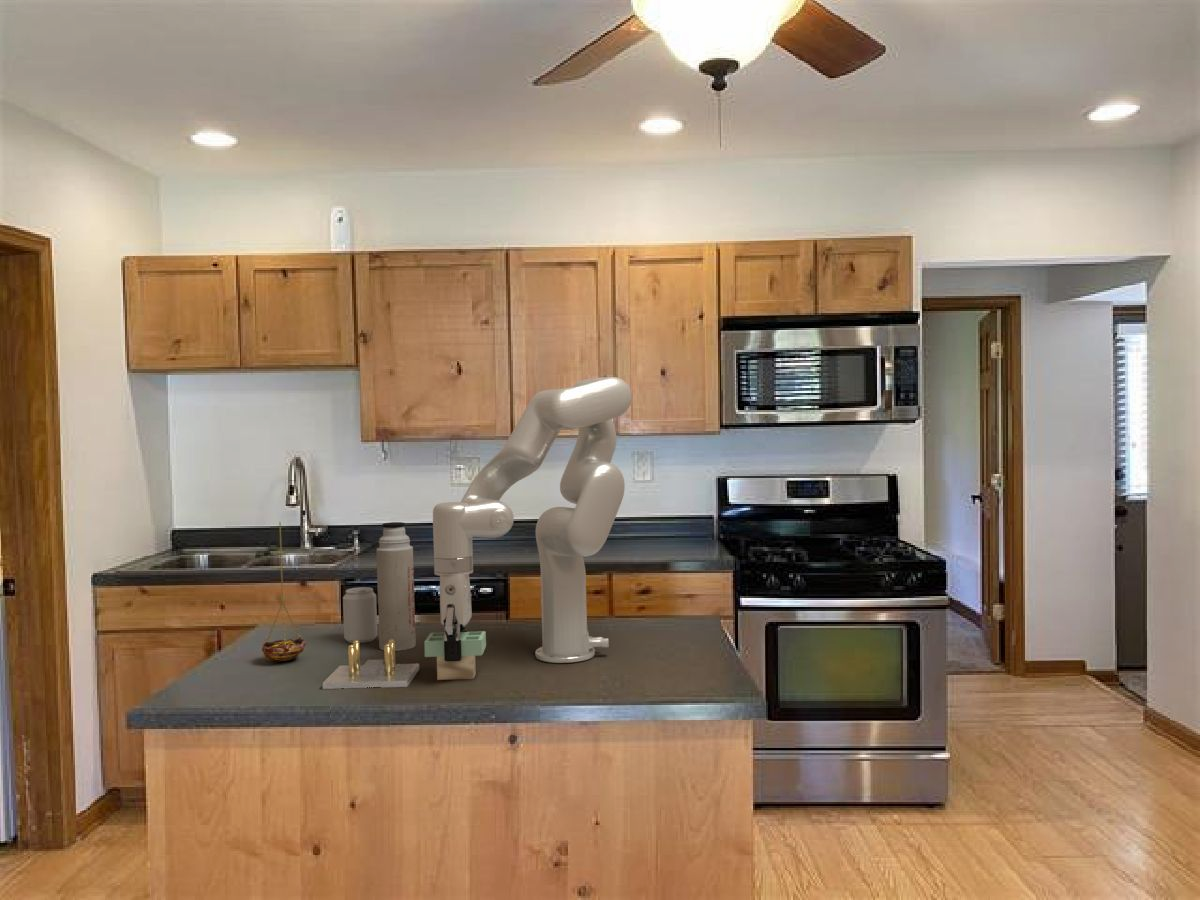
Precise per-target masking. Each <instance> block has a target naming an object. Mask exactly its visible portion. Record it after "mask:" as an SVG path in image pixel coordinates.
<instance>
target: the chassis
mask: <svg viewBox="0 0 1200 900" xmlns="http://www.w3.org/2000/svg"><path fill="white" fill-rule="evenodd" d="M383 651H384V653H383V654H384V659H367V660H366V662H364V664H363V665H362V664H361V659H360V658H361V657H360V656H361V655H360V643H359V641H358V640H355V641H354V642H353V643H352V644H350V645H348V647H347V652H348V654H347V655H348V657H347V658H348V665H346V664H345V665H339V666H338V667H337V668H336V669H335V670H334V671H332V673H330V675H329V676H328V677H326V679H325V680H324V681H323V682H322V689H323V690H332V689H333V690H338V689H341V688H344V689H370V688H371V687H372V688H371V689H373V687H381V688H407V687H409V685H410V684H411V682H412V681H413V679H414V678H415V676H416V675H417V673H418V672H419V670H420V663H396V651H395V641H394V640H393V639H390V640H389V642H388V644H386V645H385V646H384V650H383ZM367 687H368V688H367ZM369 687H370V688H369Z"/></svg>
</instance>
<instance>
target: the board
mask: <svg viewBox="0 0 1200 900" xmlns="http://www.w3.org/2000/svg"><path fill="white" fill-rule="evenodd" d="M428 634H429V635H427V638H425V640H424V642H423V643H424V645H423V646H424V658H433V657H436V658H437V657H440V656H444V635H445V631H444V632H430V633H428ZM486 634H487V632H486V631H485V630H483V631H482V630H481V631H467V632H460V637H459V640H461V656H475V657H477V656H483V654H484V652H485V649H486V647H487V635H486Z"/></svg>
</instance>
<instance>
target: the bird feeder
mask: <svg viewBox="0 0 1200 900" xmlns="http://www.w3.org/2000/svg"><path fill="white" fill-rule="evenodd" d="M278 524H279V525H278V527H279V552H280V554H279V555H280V561H279V562H280V582H281V584H280V585H281V589H280V590H281V604H280V605H279V608H278V611H277V613H276V616H275V619H274V621H273V624H272V627H271V630H270V632H269V634H268V637H267V638H265V640H264V642H263V643H262V644H261V651H262V653H263V656H264V658H265V659H267V660H268V661H271V662H275V663H281V662H286V661H287V662H288V661H289V660H292V659H294V658H296V657H298V656H299V655H300V654H302V653H303V651H304V649H305V648H306V646H307V644H306V641H305V640H304V639H303V638H302V635H300V634H299V633H298V631H297V629H296V627H295V625H294V622H293V621H292V617H291V616H290V613H289V612H288V610H287V608H286V605H285V602H284V585H283V584H284V580H283V577H284V576H283V556H282V555H283V553H282V551H283V550H282V549H283V548H282V524H281V521H279V523H278ZM281 610H282V620H283V621H282V622H283V623H282V625H283V626H282V627H283V638H284V639H277V640H272V641H271V640H270V638H271V635H272V632H273V630H274V627H275V624H276V622H277V619H278V617H279V614H280V611H281ZM285 612H286V614H287V617H288V618H289V620H290V623H291V626H292V627H293V630H294V631H295V634H296V638H287V639H286V637H287V636H286V624H285V622H286V621H285Z"/></svg>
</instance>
